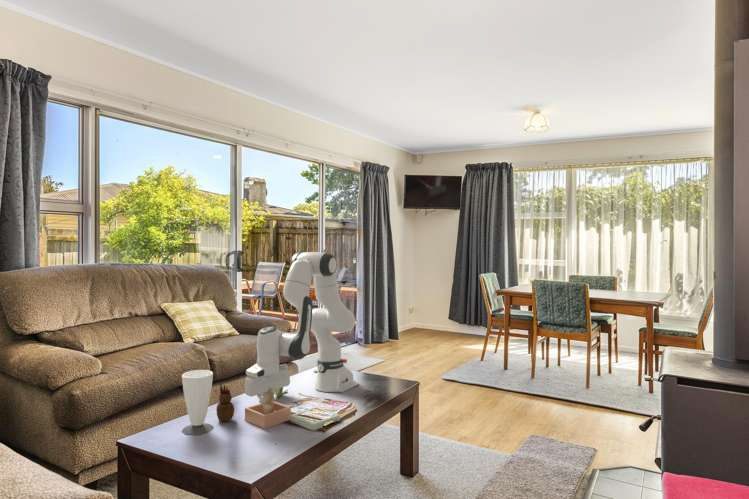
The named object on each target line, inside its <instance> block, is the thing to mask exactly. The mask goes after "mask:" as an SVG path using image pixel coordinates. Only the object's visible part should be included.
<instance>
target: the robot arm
mask: <svg viewBox="0 0 749 499" xmlns="http://www.w3.org/2000/svg"><path fill="white" fill-rule="evenodd" d="M337 267H338V261H337V259H336V257H335V255H333V254H332V253H329V252H320V251H305V252H304V251H300V252H295V253H294V254H293V256H292V257H291V260H290V268H289V270H288V272H287V275H286V277H285V282H284V285H283V290H282V291H283V292H282V294H283V297H284V299H285V300H286V301H287V303H289V304H290V305H291V306H293V307H294V308H296V309H297V311H298V322H297V331H296V333H292V332H285V331H282V330H279V329H278V328H277V327H276V326H266V327H263V328H261V329H259V331H258V333H257V337H256V338H257V340H256V351H257V352H256V353H257V358H256V363H255V364H253V365H252V366H250V367H249V368H247V369H246V370H245V375H246V378H245V380H244V393H245V395H246V396H248V397H255V396H257V398H258V399H259V404H263V403H265V399H263V393H265V392H268V389H270V388H273V387H274V401H276V400H277V399H278V398H277V394H278V392H279V388H282V387H283V388H285V387H288V386H289V385H290V383H291V376H290V367H289V365H288V364H287V363H282V364H280V357H279V356H282V357H288V358H291V359H295V360H298V361H299V360H302V359H305V357H307V355H309V353H310V351H311V344H312V343H311V332H312V333H313V335H314V337H315V340H316V342H317V354H318V359H317V361H316V362H317V365H316V366H317V371H316V372H317V373H316V382H315V386H314V389H315V390H317V391H319V392H323V393H335V392H337V393H339V392H340V393H342V392H346V391H347V390H350V389H352V388H354V387H356V386H358V385H359V382H358V381H357V380H356V379H354V374H353V372H352V371H351V370H350V369H349V368H347V367H346V366H345V365H344V364H347V362H348V359H347V358H342V344H341V342H340V341H339V340H338V338H335V337H334V336H333V334H332V332H333V333H334V332H335V333H347V332H351V331H352V330H353V329H354V327H355V325H356V316H355V314H354V312H352V311H351V310H349V308H348V307H346V306H345V304H344V303H343V301H342V299H341V297H340V293H339V292H340V291H339V287H338V286H339V285H338V278H337V272H336V270H337ZM312 279H313V283H314V284H313V285H314V293H315V299H316V301H317V302H318V303H319V304H320V305H322V306H324V307H325V308H324V307H318V308H317V307H315V308H313V306H314V305H313V304H314V303H313V299H312V298H311V297H310V291H311V290H310V289H311V285H312Z"/></svg>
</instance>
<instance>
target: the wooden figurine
mask: <svg viewBox="0 0 749 499" xmlns="http://www.w3.org/2000/svg"><path fill="white" fill-rule="evenodd" d="M219 384H220V385H219V388H220V390H219V391H220V394H219V397H218V401H219V402H218V404H217V405H216V416H217V419H218V421H220V422H222V423H228V422H230V421H232V419H233V417H234V415H235V406H234V403H233V402H232V398H233V397H232V394H231V391H230V389H228V387H226V384H222V383H219Z"/></svg>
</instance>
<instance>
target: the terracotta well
mask: <svg viewBox="0 0 749 499" xmlns="http://www.w3.org/2000/svg"><path fill="white" fill-rule="evenodd" d="M274 410H276V411H275V412H272V413H269V414H266V415H264V414H263V404H260V403H257V404H254V405H250V406H247V407H244V421H246V422H248V423H249V424H253V425H255V426H257V427H259V428H261V429H267V428H271V427H273V426H276V425H279V424H282V423H285V422H288V421H290V415H292V414H291V413H292V408H291V407H290V406H288V405H285V404H282V403H280V402H277V401H276V400H274Z"/></svg>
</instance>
